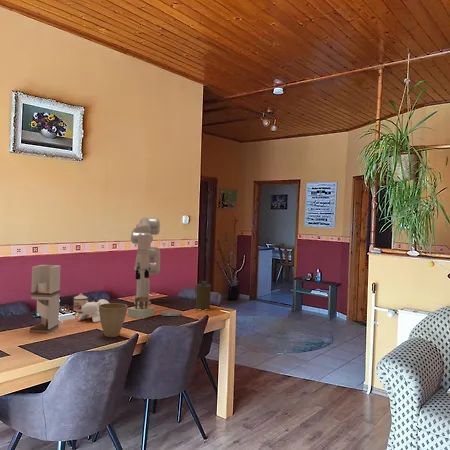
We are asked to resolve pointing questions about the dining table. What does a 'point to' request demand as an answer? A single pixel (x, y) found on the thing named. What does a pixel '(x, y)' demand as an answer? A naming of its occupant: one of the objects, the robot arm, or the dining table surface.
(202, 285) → the canister
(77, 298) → the lidded ceramic jar
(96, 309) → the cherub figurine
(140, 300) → the stool
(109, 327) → the plant pot
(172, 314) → the trivet
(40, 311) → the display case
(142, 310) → the block
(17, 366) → the dining table surface
